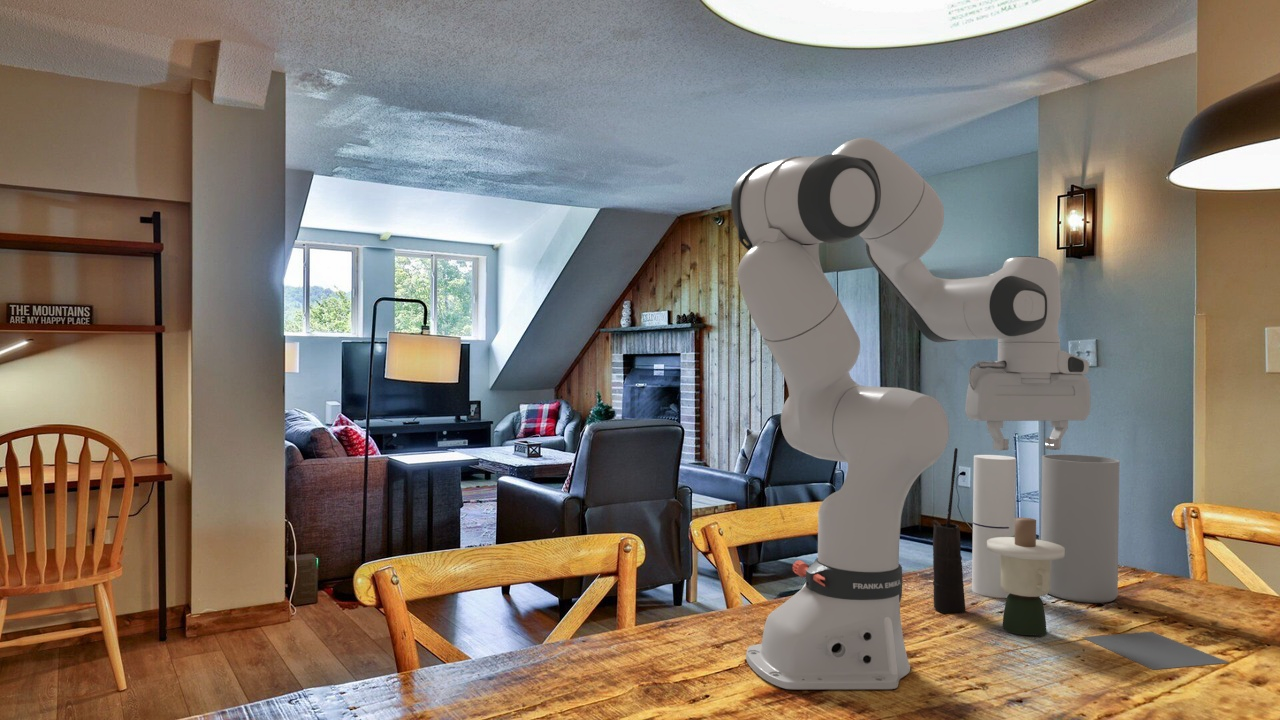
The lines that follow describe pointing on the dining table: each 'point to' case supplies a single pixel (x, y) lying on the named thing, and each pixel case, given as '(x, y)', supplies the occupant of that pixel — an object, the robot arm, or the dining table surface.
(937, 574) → the butter churn
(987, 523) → the cylindrical container
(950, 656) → the dining table surface
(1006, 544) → the lid
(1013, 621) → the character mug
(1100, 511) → the cylinder vase
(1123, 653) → the mat
